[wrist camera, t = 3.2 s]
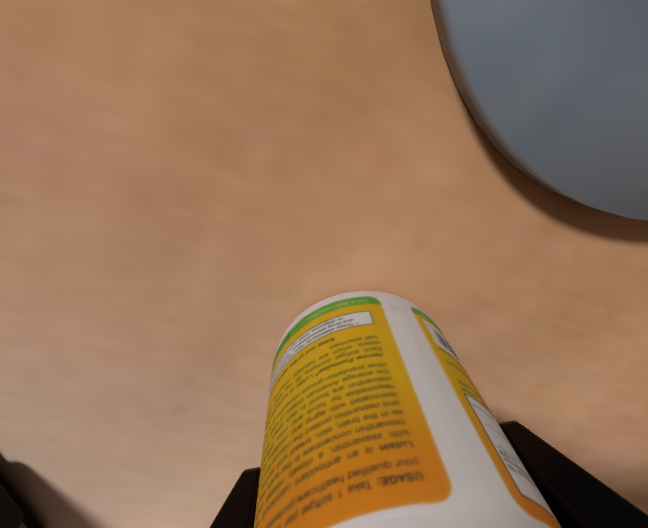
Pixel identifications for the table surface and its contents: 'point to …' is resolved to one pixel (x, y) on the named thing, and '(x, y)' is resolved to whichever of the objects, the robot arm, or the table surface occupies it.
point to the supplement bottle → (384, 428)
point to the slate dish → (558, 91)
